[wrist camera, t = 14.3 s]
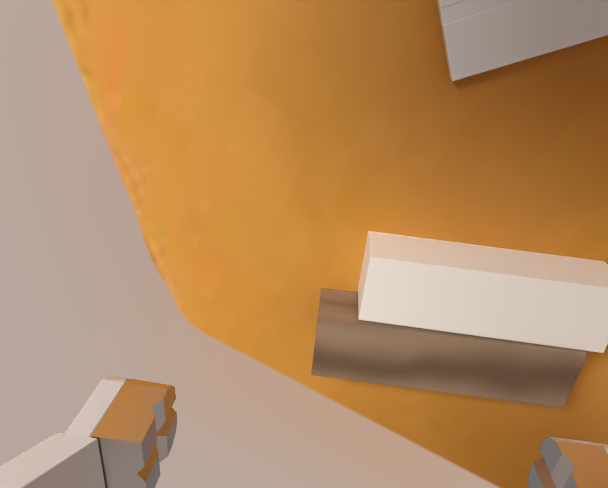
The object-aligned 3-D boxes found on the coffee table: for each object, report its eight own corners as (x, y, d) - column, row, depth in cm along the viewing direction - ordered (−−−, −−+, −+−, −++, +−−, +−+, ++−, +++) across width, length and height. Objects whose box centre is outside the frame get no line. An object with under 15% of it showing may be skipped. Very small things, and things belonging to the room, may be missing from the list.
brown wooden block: (321, 288, 43) (317, 320, 39) (563, 317, 42) (587, 354, 38) (315, 339, 46) (311, 374, 41) (542, 368, 45) (562, 408, 40)
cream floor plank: (368, 229, 40) (370, 256, 36) (602, 259, 39) (634, 291, 35) (358, 287, 43) (358, 319, 39) (576, 316, 42) (603, 353, 38)
